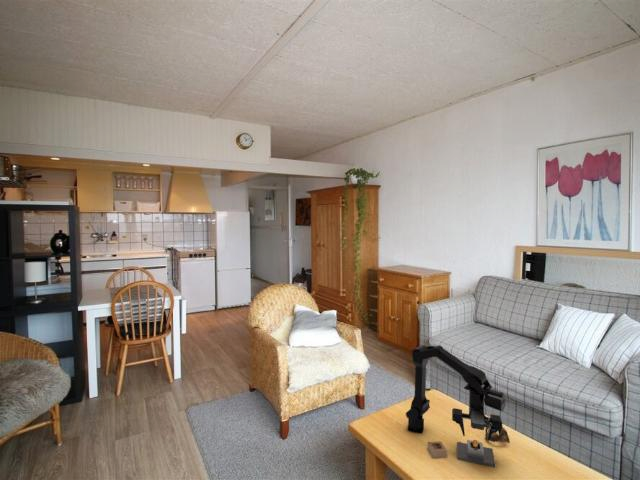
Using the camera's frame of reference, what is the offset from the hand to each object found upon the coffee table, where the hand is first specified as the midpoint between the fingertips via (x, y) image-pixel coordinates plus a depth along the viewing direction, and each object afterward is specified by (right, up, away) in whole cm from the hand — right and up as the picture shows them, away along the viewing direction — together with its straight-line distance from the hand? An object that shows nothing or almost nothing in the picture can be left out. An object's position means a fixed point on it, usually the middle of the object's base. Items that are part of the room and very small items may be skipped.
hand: (476, 438), depth 146 cm
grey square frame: (0, -6, +1) cm, 6 cm away
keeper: (0, -8, +1) cm, 8 cm away
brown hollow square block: (-15, -8, +3) cm, 17 cm away
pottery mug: (+14, -7, +11) cm, 19 cm away
